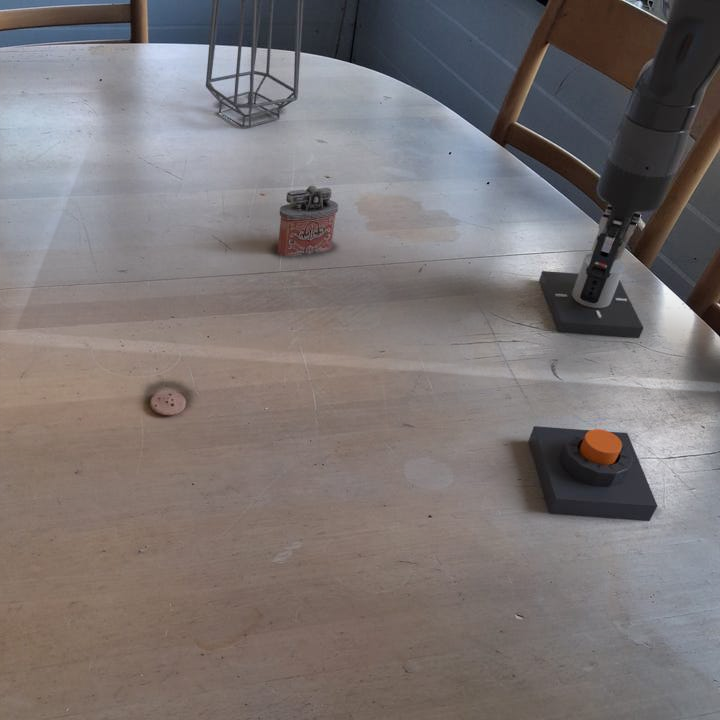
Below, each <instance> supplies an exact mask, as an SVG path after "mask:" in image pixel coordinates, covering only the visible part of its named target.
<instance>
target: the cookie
mask: <svg viewBox="0 0 720 720" xmlns="http://www.w3.org/2000/svg"><path fill="white" fill-rule="evenodd" d="M149 405H150V407H151V409H152V410H153V411H154V412H156V413H157V414H159V415H163V416H174V415H178V414H179V413H181V412H183V411H184V410H185V408H186V406H187V400H186V399H185V397H184V396H183V395H182V394H180V393H179V392H176V391H170V390H164V391H159V392H157V393H155V394H153V396H152V397H151V398H150V403H149Z"/></svg>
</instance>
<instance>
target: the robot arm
mask: <svg viewBox="0 0 720 720" xmlns="http://www.w3.org/2000/svg"><path fill="white" fill-rule="evenodd" d="M660 9H661V13H662V14H663V17H664V19H665V20H666V24H665V29H664V31H663V35H662V36H661V37H662V38H661V39H660V41H659V44H658V47H657V49H656V52H655V55H654V56H653V58H651V59H649V60H648V61H647V62H646V63H645V64H644V65H643V66H642V67H641V70H640V71H639V74H638V76H637V79H636V81H635V83H634V87H633V89H632V91H631V95H630V97H629V101H628V104H627V106H626V110H625V112H624V114H623V117H622V119H621V121H620V123H619V124H618V127H617V129H616V130H615V134H614V136H613V140H612V142H611V144H610V148H609V151H608V153H607V157H606V159H605V162H604V165H603V168H602V171H601V174H600V176H599V179H598V182H597V185H596V193H597V195H598V197H599V198H600V199H601V200H602V201H603V202H605V203H607V206H606V208H605V211H604V212H603V213H602V216H601V218H600V221H599V223H598V232H597V234H596V237H595V240H594V243H593V244H592V247H591V253H593V255H592V258H591V261H590V264H589V267H587V269H586V271H587V272H586V274H587V275H588V276H587V279H586V281H585V284H584V287H583V289H582V292H581V295H580V298H581V299H582V300H584V301H587V302H590V303H597V302H598V300H599V298H600V295H601V293H602V290H603V288H604V285H605V282H606V280H607V278H609V276H610V275H611V273H612V272H611V269H612V267H613V264H614V262H615V260H618V259H619V260H620V259H621V257H622V256H623V253H624V251H625V249H626V246H627V245H628V243H629V242H630V239H631V237H632V236H633V235H634V232H635V229H636V228H637V226H638V223H639V221H640V219H641V217H642V213H647V212H648V213H649V212H653V211H655V210H658V209H659V208H661V206H663V204H664V201H665V200H666V197H667V194H668V191H669V189H670V187H671V184H672V182H673V180H674V177H675V174H676V173H677V170H678V167H679V165H680V162H681V160H682V158H683V155H684V152H685V150H686V147H687V144H688V140H689V136H690V132H691V129H692V126H693V124H694V121H695V118H696V116H697V115H698V112H699V110H700V106H701V104H702V102H703V99H704V96H705V94H706V91H707V87H708V86H709V84H710V82H711V81H712V79H713V78H714V77H715V75H716V73H717V72H718V70H719V69H720V0H660ZM641 212H642V213H641ZM596 262H598V263H601V264H605V265H606V266H607V267H604V266H601V265H598V264H596Z"/></svg>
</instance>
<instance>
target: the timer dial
mask: <svg viewBox="0 0 720 720" xmlns="http://www.w3.org/2000/svg"><path fill="white" fill-rule="evenodd" d="M592 255H593V252H591V253H588V254H586V255H585V256H584V258H583V261H582V262H581V263H582V264H581V267H580V269H579V272H578V274H579V275H578V277H577V280H576V283H575V286H574V289H573V291H572V296H573V298H574V299H575V300H576V301H577V302H578V303H580V304H582V305H584V306H587V307H592V308H604V307H607V306H609V305H610V303H611V301H612V298H613V295H614V293H615V290H616V288H617V285H618V283H619V280H620V281H621V278H622V275H623V273H624V270H625V264H624V262H623V261H622V260H620V259H618V260H615V262H614V264H613V267H612V269H611V272H612V273H611V275H610V276H609V278H607V280H606V282H605V285H604V288H603V290H602V293H601V295H600V298H599V300H598V302H597V303H590V302H587V301H584V300H582V299H581V298H580V295H581V292H582V289H583V287H584V284H585V281H586V279H587V276H588V275H587V274H586V272H587V271H586V269H587V267H589V264H590V261H591V258H592ZM596 264H598V265H601V266H604V267H607V266H606V265H605V264H601V263H598V262H596Z"/></svg>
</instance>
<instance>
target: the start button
mask: <svg viewBox="0 0 720 720" xmlns="http://www.w3.org/2000/svg"><path fill="white" fill-rule="evenodd" d="M589 430H590V431H588V432H587V433H586V434H585V437H584V439H583V442H582V444H581V446H580V453H581V455H582V456H583V457H584V458H586V459H587V460H589V461H591V462H593V463H596V464H598V465H611V464H613V463H614V462H615V461H616V459H617V457H618V454H619V452H620V450H621V448H622V443H621V441H620V439H619V438H618V437H617V436H616V435H614V434H613V433H611V432H612V431H608V430H605V429H600V428H599V429H596V428H594V429H589Z"/></svg>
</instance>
